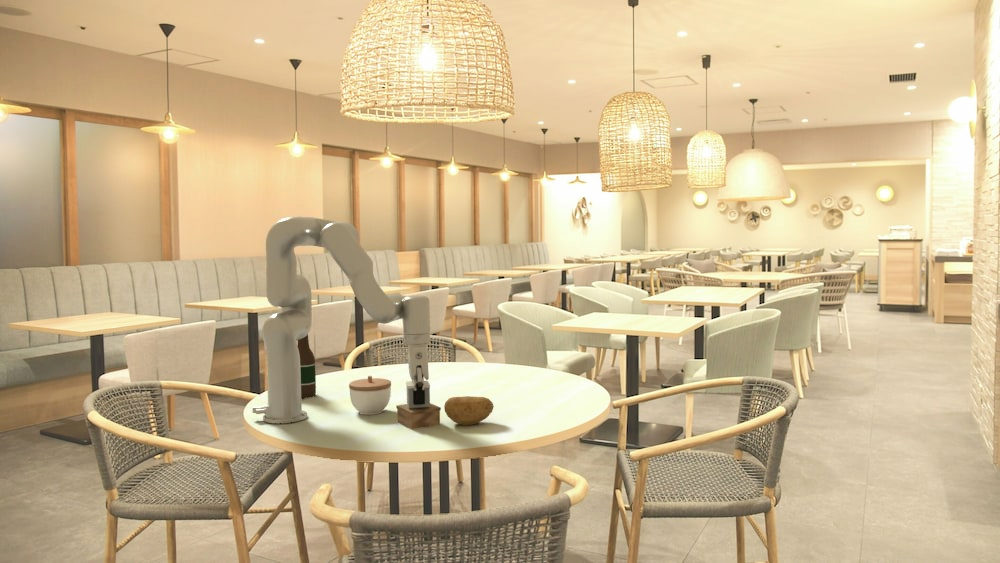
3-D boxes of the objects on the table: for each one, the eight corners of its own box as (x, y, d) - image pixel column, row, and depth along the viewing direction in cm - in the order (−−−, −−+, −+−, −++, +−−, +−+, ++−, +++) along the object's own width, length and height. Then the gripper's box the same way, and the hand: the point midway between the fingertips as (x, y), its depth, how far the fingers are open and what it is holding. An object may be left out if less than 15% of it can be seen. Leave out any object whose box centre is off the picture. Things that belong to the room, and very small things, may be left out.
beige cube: (408, 408, 206) (407, 386, 206) (406, 403, 212) (406, 381, 212) (430, 406, 207) (429, 384, 207) (427, 401, 214) (427, 380, 213)
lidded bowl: (400, 411, 224) (399, 375, 223) (365, 419, 215) (364, 382, 214) (375, 404, 233) (374, 370, 232) (341, 412, 224) (340, 376, 223)
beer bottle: (299, 393, 251) (297, 323, 249) (320, 393, 249) (318, 323, 248) (288, 398, 243) (286, 326, 242) (310, 399, 242) (308, 326, 240)
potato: (496, 427, 205) (495, 399, 205) (445, 429, 203) (445, 401, 203) (491, 418, 215) (491, 391, 214) (443, 420, 213) (442, 393, 212)
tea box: (411, 430, 204) (410, 412, 203) (396, 423, 212) (396, 405, 211) (440, 425, 209) (440, 407, 208) (425, 418, 217) (425, 401, 216)
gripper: (433, 343, 201) (434, 408, 202) (426, 334, 218) (427, 394, 219) (406, 344, 199) (407, 409, 201) (401, 335, 216) (402, 395, 217)
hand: (418, 401), depth 210 cm, fingers closed on beige cube, 6 cm apart
